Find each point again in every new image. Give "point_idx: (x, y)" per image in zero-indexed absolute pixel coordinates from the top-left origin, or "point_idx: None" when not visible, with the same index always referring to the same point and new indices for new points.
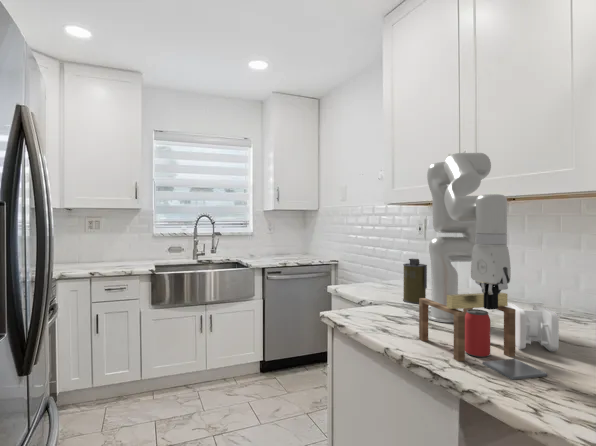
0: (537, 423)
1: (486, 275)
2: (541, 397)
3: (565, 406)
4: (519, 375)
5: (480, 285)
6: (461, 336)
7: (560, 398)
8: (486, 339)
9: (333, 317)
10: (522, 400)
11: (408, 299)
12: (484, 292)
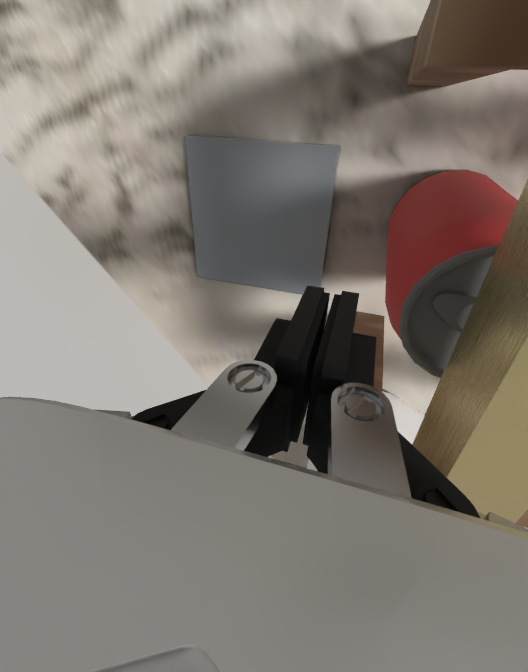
0: None
1: (19, 580)
2: (73, 113)
3: (31, 132)
4: (192, 176)
5: (446, 489)
6: (420, 42)
7: (73, 166)
8: (387, 252)
9: None
10: (46, 17)
11: None
12: (340, 386)
